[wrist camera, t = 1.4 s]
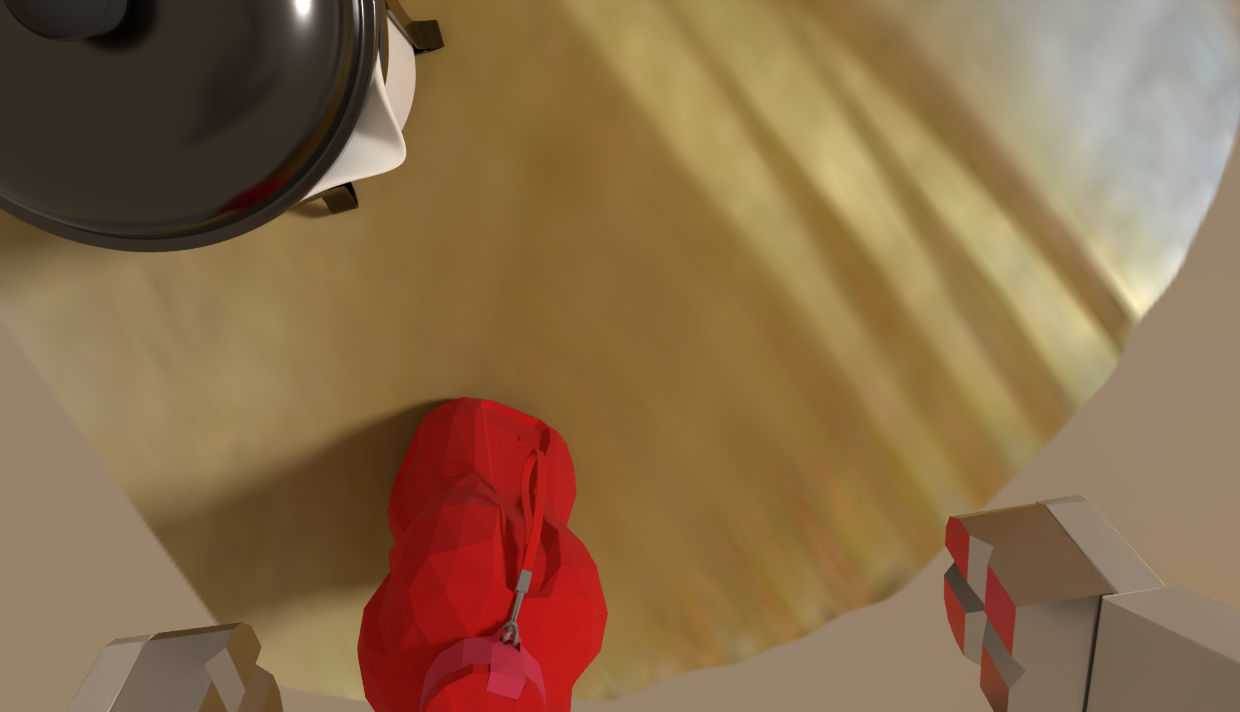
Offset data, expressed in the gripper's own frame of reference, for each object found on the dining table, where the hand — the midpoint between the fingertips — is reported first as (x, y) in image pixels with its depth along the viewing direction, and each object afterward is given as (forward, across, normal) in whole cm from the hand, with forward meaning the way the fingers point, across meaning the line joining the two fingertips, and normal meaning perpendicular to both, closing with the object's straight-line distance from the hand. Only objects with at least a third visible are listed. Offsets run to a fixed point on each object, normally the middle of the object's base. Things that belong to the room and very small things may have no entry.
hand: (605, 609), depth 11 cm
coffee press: (+43, +15, -1) cm, 45 cm away
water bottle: (+38, +8, +22) cm, 45 cm away
